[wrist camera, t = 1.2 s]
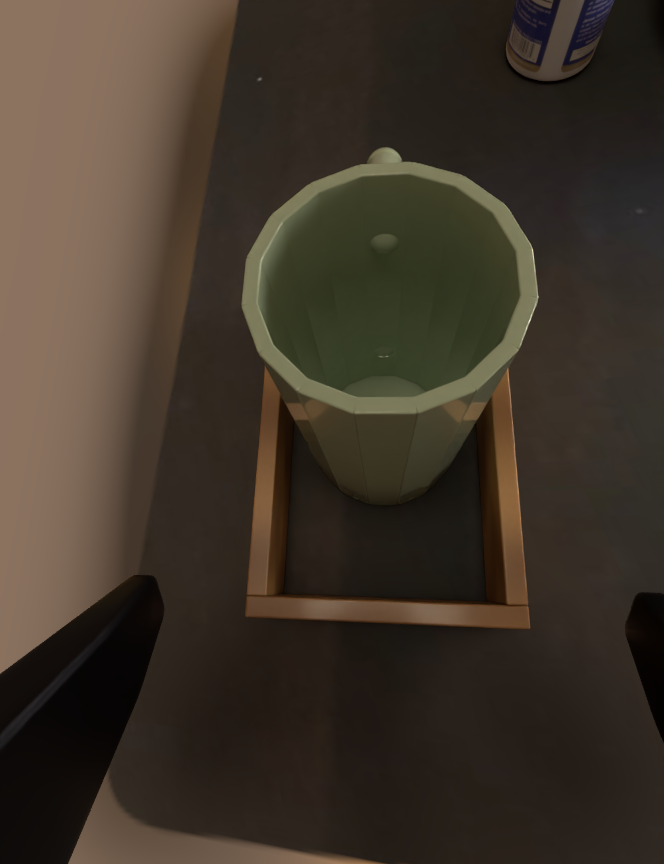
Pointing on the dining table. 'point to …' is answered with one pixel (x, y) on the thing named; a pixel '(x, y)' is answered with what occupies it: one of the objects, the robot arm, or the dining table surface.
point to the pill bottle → (555, 36)
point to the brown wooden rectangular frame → (500, 612)
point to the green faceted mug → (388, 318)
